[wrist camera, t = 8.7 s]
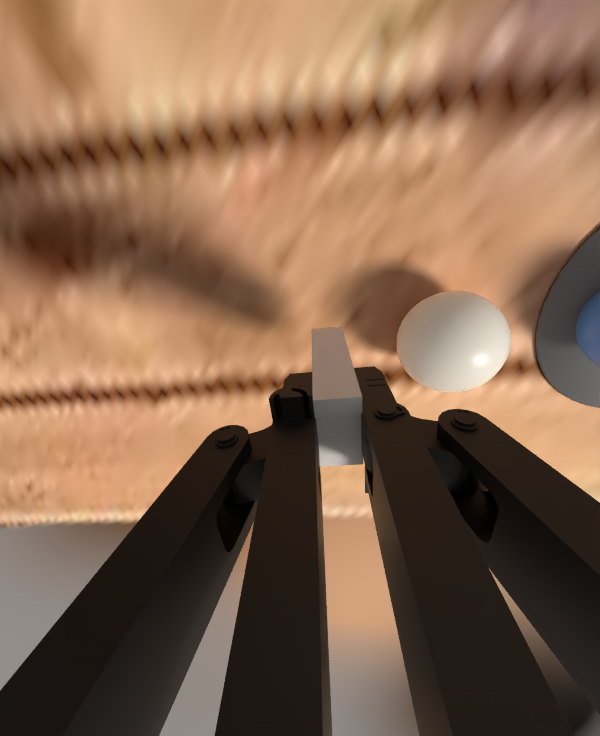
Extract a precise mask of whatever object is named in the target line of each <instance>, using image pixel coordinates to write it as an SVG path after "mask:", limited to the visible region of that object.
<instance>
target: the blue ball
mask: <svg viewBox="0 0 600 736" xmlns="http://www.w3.org/2000/svg"><path fill="white" fill-rule="evenodd" d="M576 339H577V342H578V345H579V347H580V349H581V350H582V352H583V353H584V354H585V355H586V356H587V357H588V358H589V359H590V360H591V361H592V362H593V363H595V364H596V365H598V366H599V367H600V292H599V293H597V294H596V295H595V296H594V297H593V298H592V299H591V300H590V301H589V302H588V303H587V304H586V305H585V306H584V308H583V309H582V311H581V313H580V315H579V317H578V320H577V323H576Z"/></svg>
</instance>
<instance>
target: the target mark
mask: <svg viewBox="0 0 600 736" xmlns="http://www.w3.org/2000/svg"><path fill="white" fill-rule="evenodd" d="M599 292H600V228H599V229H598V230H597V231H596V232H595V233H594V234H592V235H591V236H590V237H589V238H588V239H587V240H586V241H585V242H584V243H583V244H582V246H581V247H580V248H579V249H578V250H577V251H576V252H575V253H574V254H573V256H572V257H571V258H570V259H569V261H568V262H567V263H566V265H565V266H564V267H563V269H562V270H561V272H560V273H559V275H558V276H557V278H556V280H555V281H554V283H553V285H552V286H551V288H550V290H549V292H548V295H547V297H546V299H545V301H544V303H543V306H542V309H541V312H540V315H539V319H538V324H537V329H536V343H535V346H536V354H537V359H538V362H539V366H540V368H541V370H542V372H543V374H544V376H545V378H546V379H547V380H548V381H549V383H550V384H551V385H552V386H553V387H554V388H555V389H556V390H558V391H559V392H560V393H561V394H563V395H565V396H566V397H568V398H570V399H571V400H573V401H576V402H579V403H581V404H584V405H588V406H593V407H599V408H600V367H599V366H598V365H596V364H595V363H593V362H592V361H591V360H590V359H589V358H588V357H587V356H586V355H585V354H584V353H583V352H582V350H581V349H580V347H579V345H578V342H577V339H576V323H577V320H578V317H579V315H580V313H581V311H582V309H583V308H584V306H585V305H586V304H587V303H588V302H589V301H590V300H591V299H592V298H593V297H594V296H595V295H596V294H597V293H599Z"/></svg>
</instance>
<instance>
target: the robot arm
mask: <svg viewBox="0 0 600 736" xmlns="http://www.w3.org/2000/svg"><path fill="white" fill-rule="evenodd" d="M269 402H270V408H271V413H272V419H273V423H272V425H271V426H269V427H268V428H266V429H263V430H261V431H258V432H254V433H251V434H248V430H247V429H245V428H244V427H242V426H238V425H229V426H225V427H221V428H219V429H217V430H215V431H213V432H212V433H211V434H210V435H209V436H208V437H207V438H206V439H205V440H204V442H203V443H202V444H201V445H200V446H199V448H198V449H197V450H196V451H195V453H194V454H193V455H192V456H191V458H190V459H189V460H188V461H187V462H186V464H185V465H184V466H183V467H182V469H181V470H180V471H179V472H178V473H177V475H176V476H175V477H174V478H173V480H172V481H171V482H170V483H169V485H168V486H167V487H166V488H165V489H164V491H163V492H162V493H161V494H160V496H159V497H158V498H157V499H156V500H155V502H154V503H153V504H152V505H151V507H150V508H149V509H148V510H147V511H146V513H145V514H144V515H143V516H142V518H141V519H140V520H139V521H138V523H137V524H136V525H135V526H134V527H133V529H132V530H131V531H130V532H129V534H128V535H127V536H126V537H125V538H124V540H123V541H122V542H121V544H120V545H119V546H118V547H117V548H116V550H115V551H114V552H113V553H112V554H111V556H110V557H109V558H108V559H107V561H106V562H105V563H104V564H103V565H102V567H101V568H100V569H99V570H98V572H97V573H96V574H95V575H94V576H93V578H92V579H91V580H90V581H89V583H88V584H87V585H86V586H85V588H84V589H83V590H82V591H81V593H80V594H79V595H78V596H77V597H76V599H75V600H74V601H73V602H72V604H71V605H70V606H69V607H68V608H67V610H66V611H65V612H64V613H63V615H62V616H61V617H60V618H59V619H58V621H57V622H56V623H55V624H54V626H53V627H52V628H51V629H50V630H49V632H48V633H47V634H46V636H45V637H44V638H43V639H42V640H41V642H40V643H39V644H38V646H37V647H36V648H35V649H34V650H33V651H32V653H31V654H30V655H29V656H28V658H27V659H26V660H25V661H24V662H23V664H22V665H21V666H20V667H19V668H18V670H17V671H16V673H14V675H13V676H12V677H11V678H10V680H9V681H8V682H7V683H6V685H5V686H4V687H3V688H2V689H1V691H0V736H159V734H160V732H161V730H162V728H163V725H164V723H165V721H166V719H167V716H168V714H169V712H170V710H171V707H172V705H173V703H174V701H175V698H176V696H177V694H178V691H179V689H180V687H181V685H182V682H183V680H184V678H185V676H186V673H187V671H188V669H189V667H190V664H191V662H192V660H193V657H194V655H195V653H196V651H197V648H198V646H199V644H200V642H201V639H202V637H203V635H204V633H205V630H206V628H207V626H208V624H209V621H210V619H211V617H212V615H213V612H214V610H215V608H216V606H217V603H218V601H219V599H220V596H221V594H222V592H223V590H224V587H225V585H226V583H227V580H228V578H229V576H230V574H231V572H232V569H233V567H234V565H235V563H236V560H237V558H238V556H239V554H240V551H241V549H242V547H243V545H244V542H245V540H246V538H247V536H248V533H249V531H250V528H251V526H252V524H253V522H254V526H253V532H252V537H251V542H250V548H249V553H248V558H247V564H246V569H245V575H244V580H243V585H242V591H241V597H240V602H239V607H238V613H237V618H236V623H235V629H234V635H233V640H232V645H231V650H230V656H229V662H228V667H227V672H226V677H225V683H224V689H223V694H222V699H221V704H220V710H219V716H218V721H217V726H216V732H215V736H332V721H331V720H332V719H331V696H330V673H329V650H328V629H327V628H328V627H327V605H326V584H325V583H326V582H325V559H324V539H323V538H324V537H323V514H322V491H321V474H320V466H338V465H356V464H363V458H364V462H365V493H369V498H370V502H371V507H372V512H373V517H374V521H375V525H376V531H377V536H378V540H379V545H380V550H381V554H382V559H383V564H384V568H385V574H386V578H387V583H388V588H389V593H390V597H391V602H392V606H393V612H394V616H395V621H396V626H397V630H398V635H399V640H400V645H401V650H402V654H403V659H404V664H405V669H406V673H407V678H408V683H409V687H410V692H411V697H412V702H413V707H414V711H415V716H416V721H417V726H418V731H419V735H420V736H574V734H573V732H572V731H571V728H570V726H569V725H568V723H567V721H566V719H565V717H564V715H563V713H562V711H561V709H560V707H559V706H558V703H557V701H556V699H555V697H554V695H553V693H552V692H551V689H550V687H549V685H548V684H547V682H546V680H545V678H544V676H543V674H542V672H541V670H540V668H539V666H538V664H537V662H536V660H535V658H534V656H533V654H532V652H531V650H530V648H529V646H528V644H527V642H526V640H525V639H524V637H523V635H522V633H521V631H520V629H519V627H518V625H517V623H516V621H515V619H514V617H513V615H512V613H511V611H510V609H509V607H508V605H507V603H506V601H505V599H504V597H503V595H502V593H501V591H500V590H499V588H498V586H497V584H496V582H495V580H494V578H493V576H492V574H491V572H490V570H491V571H492V573H493V574H494V575H495V577H496V578H497V579H498V581H499V582H500V583H501V584H502V586H503V587H504V588H505V590H506V591H507V592H508V594H509V595H510V596H511V598H512V599H513V600H514V602H515V603H516V604H517V606H518V607H519V608H520V610H521V611H522V612H523V613H524V615H525V616H526V617H527V619H528V620H529V621H530V623H531V624H532V625H533V627H534V628H535V629H536V631H537V632H538V633H539V635H540V636H541V637H542V639H543V640H544V641H545V643H546V644H547V645H548V647H549V648H550V649H551V651H552V652H553V653H554V654H555V656H556V657H557V658H558V660H559V661H560V663H561V664H562V665H563V666H564V668H565V669H566V670H567V672H568V673H569V674H570V676H571V677H572V678H573V680H574V681H575V682H576V684H577V685H578V686H579V687H580V689H581V690H582V692H583V693H584V694H585V696H586V697H587V698H588V700H589V701H590V702H591V703H592V705H593V706H594V707H595V709H596V710H597V711H598V713H599V714H600V503H599V502H598V501H597V500H595V499H594V498H593V497H591V496H590V495H589V494H587V493H586V492H585V491H583V490H582V489H581V488H579V487H578V486H576V485H575V484H574V483H572V482H571V481H570V480H568V479H567V478H566V477H564V476H563V475H562V474H560V473H559V472H558V471H556V470H555V469H554V468H552V467H551V466H550V465H548V464H547V463H546V462H544V461H543V460H542V459H540V458H539V457H537V456H536V455H535V454H533V453H532V452H531V451H529V450H528V449H527V448H525V447H524V446H523V445H521V444H520V443H519V442H517V441H516V440H515V439H513V438H512V437H511V436H509V435H508V434H507V433H505V432H504V431H502V430H501V429H500V428H498V427H497V426H496V425H494V424H493V423H492V422H490V421H489V420H488V419H486V418H485V417H483V416H481V415H479V414H478V413H475V412H472V411H469V410H462V409H452V410H447V411H445V412H442V413H441V415H440V416H439V418H438V421H432V420H425V419H419V418H415V417H412V416H411V415H410V413H409V411H408V410H407V409H406V408H405V407H404V406H402V405H400V404H398V403H397V402H396V400H395V398H394V396H393V394H392V392H391V390H390V388H389V386H388V384H387V381H386V380H385V377H384V375H383V373H382V372H381V371H380V370H379V369H377V368H376V367H374V366H373V367H361V368H354V367H353V364H352V361H351V357H350V354H349V350H348V347H347V344H346V340H345V337H344V333H343V330H342V327H331V328H320V329H312V372H309V373H296V374H290V375H289V376H288V377H287V378H286V379H285V380H284V386H283V388H281V389H279V390H277V391H275V392H274V393H272V394H271V396H270V398H269ZM488 567H489V568H488ZM489 569H490V570H489Z"/></svg>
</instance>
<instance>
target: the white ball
mask: <svg viewBox="0 0 600 736" xmlns="http://www.w3.org/2000/svg"><path fill="white" fill-rule="evenodd" d="M510 342H511V338H510V329H509V326H508V323H507V321H506V319H505V317H504V315H503V314H502V312H501V311H500V310H499V309H498V308H497V306H495V305H494V304H493V303H492V302H490V301H489V300H487V299H486V298H484V297H482V296H479V295H477V294H474V293H471V292H466V291H446V292H441V293H437V294H434V295H432V296H430V297H427V298H425V299H424V300H422V301H420V302H419V303H418V304H416V305H415V306H414V307H413V308H412V309H411V310H410V311H409V312H408V313H407V314H406V316H405V317H404V319H403V321H402V323H401V325H400V327H399V330H398V334H397V343H396V345H397V353H398V357H399V360H400V362H401V364H402V366H403V368H404V369H405V371H406V372H407V373H408V374H409V375H410V376H411V377H412V378H413V379H414V380H415V381H416V382H418V383H419V384H421V385H423V386H425V387H427V388H430V389H433V390H436V391H441V392H461V391H466V390H470V389H473V388H476V387H478V386H480V385H482V384H484V383H485V382H487V381H488V380H490V379H491V378H492V377H493V376H494V375H495V374H496V373H497V372H498V371H499V370H500V369H501V367H502V366H503V364H504V362H505V360H506V359H507V356H508V353H509V349H510Z"/></svg>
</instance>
